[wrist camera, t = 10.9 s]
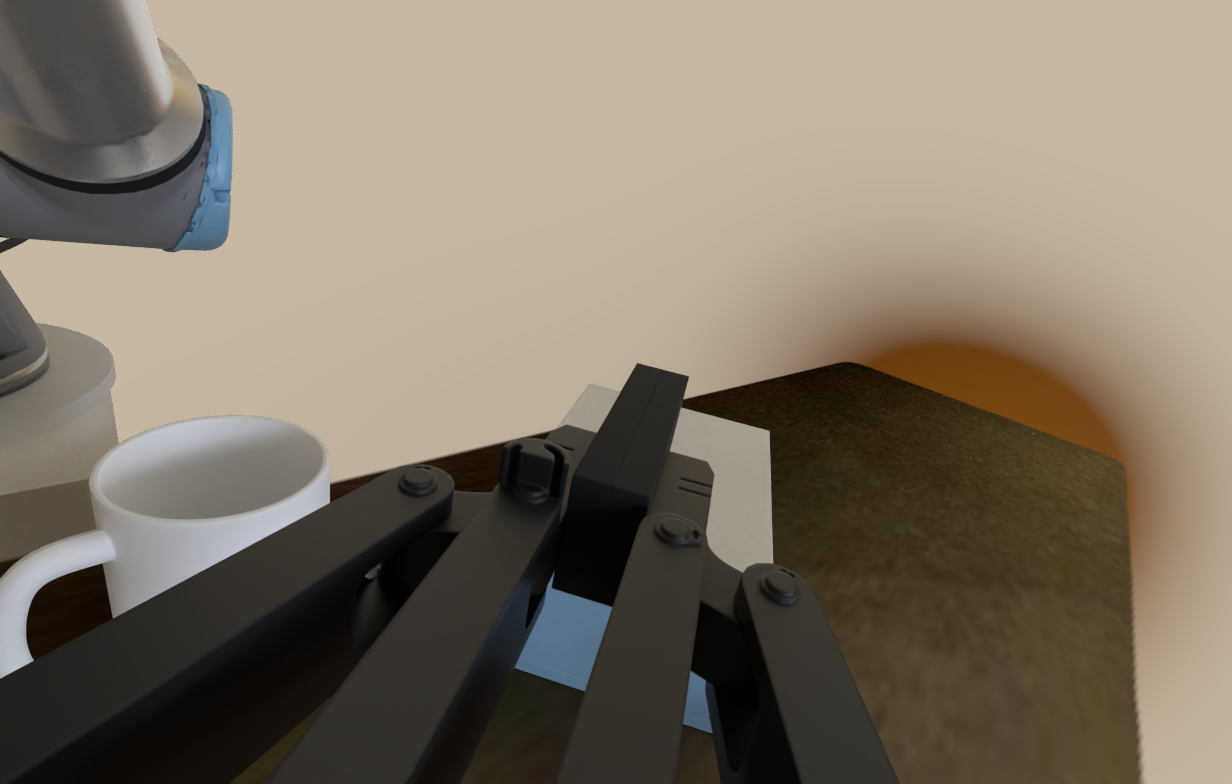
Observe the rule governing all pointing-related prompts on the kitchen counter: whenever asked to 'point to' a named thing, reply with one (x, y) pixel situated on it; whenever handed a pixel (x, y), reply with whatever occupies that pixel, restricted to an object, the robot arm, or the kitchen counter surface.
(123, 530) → the cup
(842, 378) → the kitchen counter surface
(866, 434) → the kitchen counter surface
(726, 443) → the case lid
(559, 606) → the case
